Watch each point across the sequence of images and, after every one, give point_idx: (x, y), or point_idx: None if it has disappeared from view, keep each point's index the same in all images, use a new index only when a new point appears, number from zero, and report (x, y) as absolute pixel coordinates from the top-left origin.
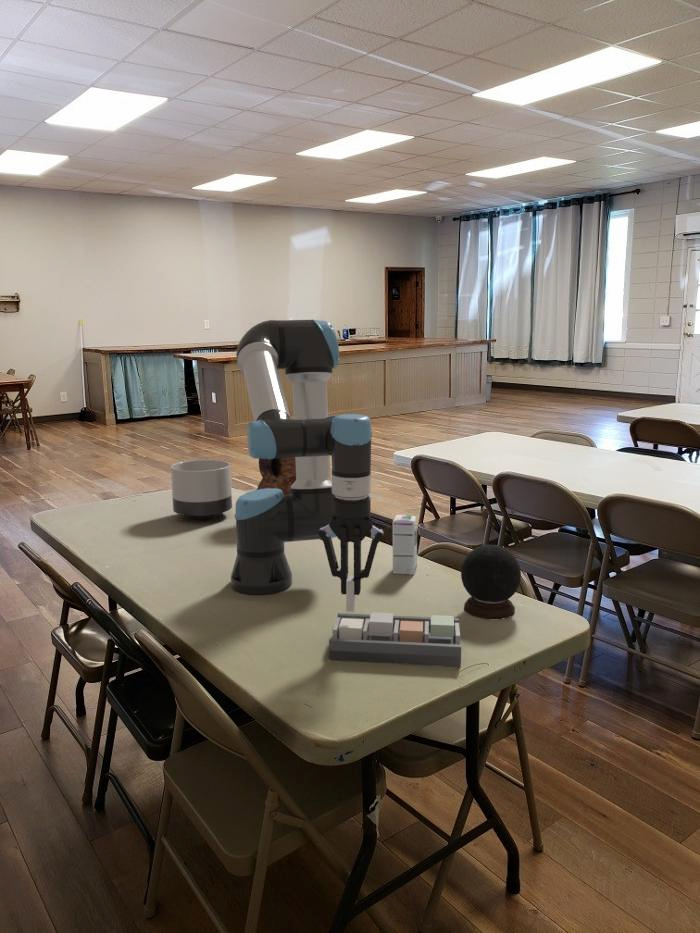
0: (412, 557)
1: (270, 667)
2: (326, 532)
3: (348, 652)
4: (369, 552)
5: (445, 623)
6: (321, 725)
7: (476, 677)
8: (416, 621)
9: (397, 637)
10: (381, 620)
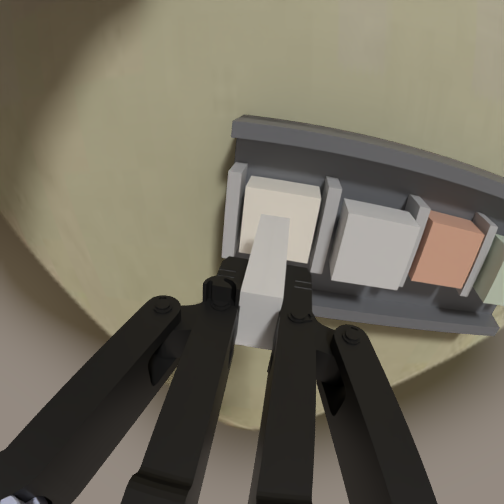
0: None
1: (122, 286)
2: None
3: None
4: (352, 498)
5: None
6: (233, 413)
7: (481, 337)
8: (470, 232)
9: None
10: (370, 274)
